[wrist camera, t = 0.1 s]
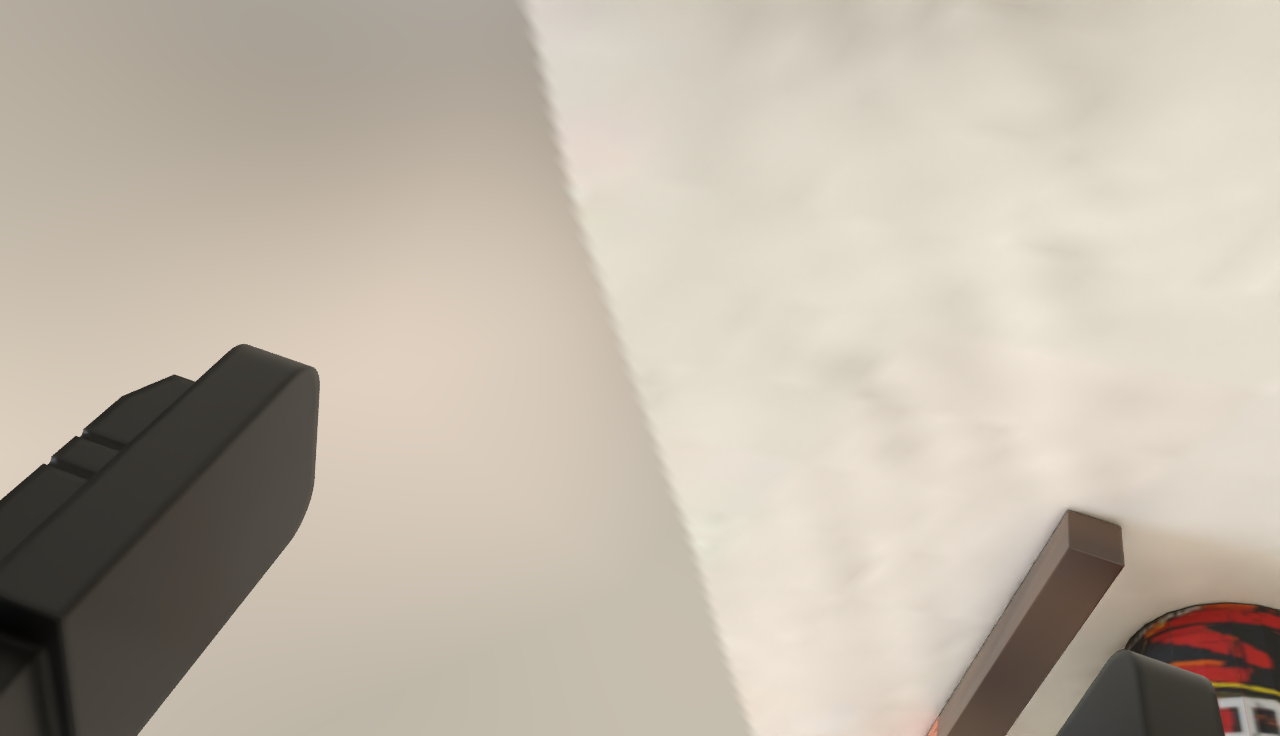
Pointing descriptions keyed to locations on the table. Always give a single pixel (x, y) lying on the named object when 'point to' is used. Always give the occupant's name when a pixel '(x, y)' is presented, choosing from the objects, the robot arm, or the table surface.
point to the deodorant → (1225, 659)
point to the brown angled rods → (1035, 627)
